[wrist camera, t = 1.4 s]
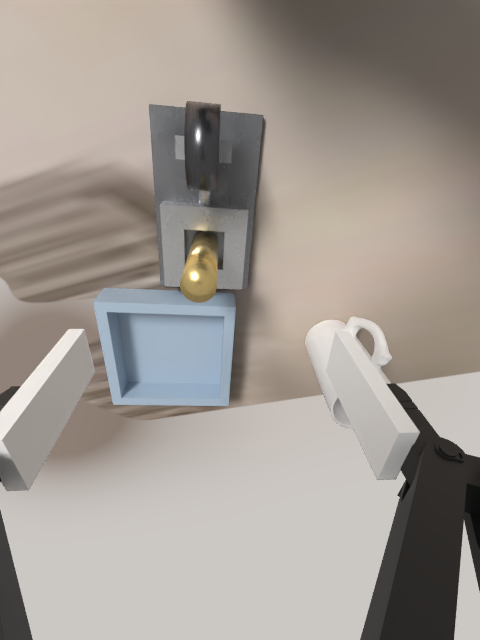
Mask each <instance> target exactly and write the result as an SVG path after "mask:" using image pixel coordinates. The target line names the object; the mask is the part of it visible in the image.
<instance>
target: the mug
mask: <svg viewBox="0 0 480 640" xmlns="http://www.w3.org/2000/svg"><path fill="white" fill-rule="evenodd" d="M361 328H365V329H367V330H368V331H369V332H370V333H371V334H372V336H373V339H374V343H375V349H374V353H373V356H372V357H371V356H370V354H369V353H368V352H367V350H366V349H365V348H364V346H363V345H362V344H361V342H360V341H359V340H358V338H357V337H356V334H357V332H358V331H359V330H360V329H361ZM335 331H349V332H350V333H351V335H352V336H353V337H354V339H355V340H356V342H357V343H358V345H359V346H360V347H361V349H362V350H363V352H364V353H365V355H366V356H367V357H368V359H369V360H370V362H371V363H372V365H373V366H374V367H375V369H376V370H377V372H378V373H379V375H380V376H381V377H382V379H383V380H384V382H385V383H386V384H391V382H390V381H389V380H388V378H387V377H386V375H385V374H384V373H383V371H382V370H381V367H382V365H386V364H387V363H388V362H389V361H390V360H391V359H392V356H391V355H390V353H389V350H388V345H387V342H386V339H385V336H384V334H383V332H382V330H381V329H380V327H379V326H378V325H377V324H376V323H374V322H372V321H370V320H367V319H363V318H359V317H355V316H353V317H351V318H350V319H349V321H348V323H347V324H345V323H343V322H342V321H339V320H325V321H322V322H320V323H318V324H316V325H315V326H313V327H312V328H311V329H310V330H309V332H308V333H307V335H306V339H305V346H306V349H307V352H308V354H309V357H310V360H311V363H312V366H313V368H314V371H315V373H316V376H317V379H318V381H319V384H320V387H321V389H322V392H323V395H324V397H325V400H326V403H327V405H328V407H329V409H330V412H331V415H332V417H333V419H334V421H335V422H336V423H338V424H339V425H341V426H344V427H346V428H353V427H352V425H351V423H350V421H349V419H348V417H347V415H346V413H345V410H344V408H343V406H342V404H341V402H340V400H339V398H338V396H337V394H336V391H335V389H334V387H333V385H332V383H331V381H330V379H329V377H328V374H327V372H326V368H327V364H328V360H329V356H330V351H331V347H332V343H333V339H334V335H335Z"/></svg>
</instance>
